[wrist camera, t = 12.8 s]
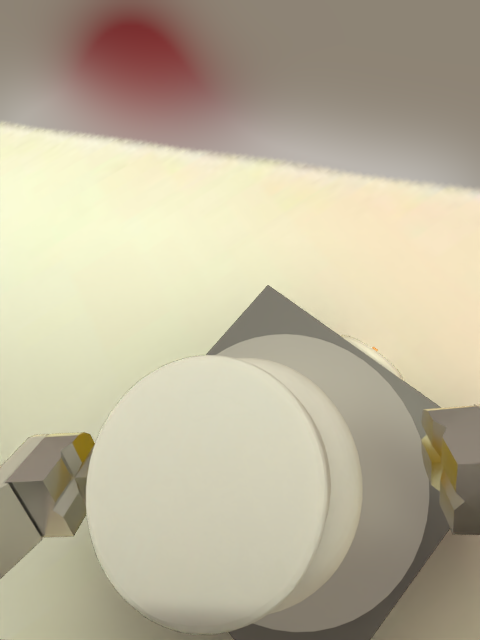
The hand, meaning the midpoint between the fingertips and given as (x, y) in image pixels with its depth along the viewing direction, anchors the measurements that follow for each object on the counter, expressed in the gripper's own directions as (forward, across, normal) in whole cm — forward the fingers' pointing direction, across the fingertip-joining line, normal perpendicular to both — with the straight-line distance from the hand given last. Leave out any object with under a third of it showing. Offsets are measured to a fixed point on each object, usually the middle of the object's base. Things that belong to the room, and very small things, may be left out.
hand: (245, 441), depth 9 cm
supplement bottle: (+4, 0, +5) cm, 7 cm away
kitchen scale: (+8, 0, +8) cm, 11 cm away
